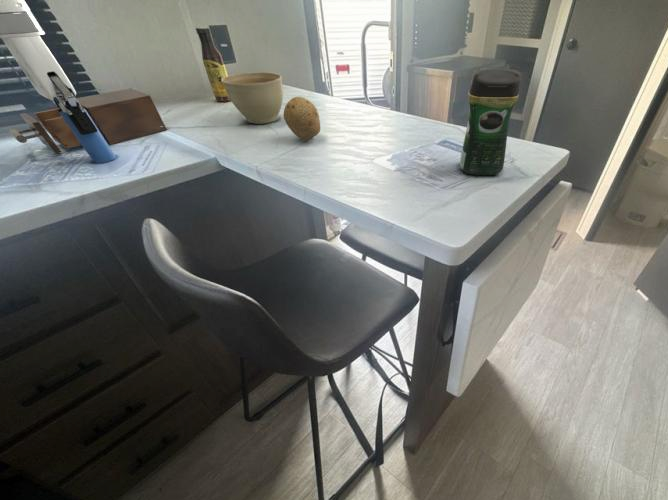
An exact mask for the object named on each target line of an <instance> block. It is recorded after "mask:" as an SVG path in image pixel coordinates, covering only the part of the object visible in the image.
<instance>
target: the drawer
mask: <svg viewBox="0 0 668 500" xmlns="http://www.w3.org/2000/svg"><path fill="white" fill-rule="evenodd" d="M59 109H61V108H59ZM85 110H86V109H85ZM86 111H87V113H88V114H89V116H90V117H91V119H92V121H93V122H94V124H95V125H96V127H97V128H98V130H99V131H100V133H101V134H102V136H103V138H104V139H106V138H105V136H104V134H103V133H102V131H101V130H100V128H99V127H98V125H97V123H96V122H95V120H94V119H93V117H92V116H91V114H90V113H89V111H88V110H86ZM33 114H34V115H35V116H36V118H37V119H38V120H39V121H38V120H37V119H35V118H34V117H32V116H31V115H30V114H28V113H26V112H23V113H19V115H20V117H21V118H22V119H23V120H24V122H25V123H26V124H27V126H28V127H29V128H24V129H20V130H16V129H14V128H11V129H9V130H8V133H9V135H11V137H12V138H14V139H15V140H16V141H18V142H19V143H21V144H26V143H27V141H28V140H30V139H35V138H38V140H39V141H40V142H41V143H42V144H43V145H44V146H45V147H47V148H48V149H49V150H50V151H52V152H53V153H54V154H55V155H56V154H61V153H62V150H61V149H60V148H59V146H58V145H57V144H56V143H58V144H59V145H60V146H62V147H64V149H71V148H75V147H78V146H82V145H81V143H80V142H79V140H78V139H77V138H76V136H75V135H74V133H73V132H72V130H71V129H70V128H69V126H68V125H67V123H66V122H65V121H64V119H63V118H62V116H61V115H60V113H59V111H58V108H57V107H56V108H52V109H47V110H42V111H38V112H33ZM31 132H33V133H32V134H28V135H23V134H27V133H31Z"/></svg>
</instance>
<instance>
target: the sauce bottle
mask: <svg viewBox="0 0 668 500" xmlns="http://www.w3.org/2000/svg"><path fill="white" fill-rule="evenodd" d="M195 31H196V34H197V35H198V38H199V40H200V45H201V46H200V47H201V55H202V63H203V66H204V69H205V73H206V75H207V78H208V81H209V84H210V87H211V89H212V92H213V95H214V97H215V100H216V101H218V102H221V103H223V102H225V103H226V102H227V103H228V102H232V101H231V100H230V98H229V96H228V94H227V92H226V89H225V87H224V85H223V83H222V81H221V80H222V78H224V77H227V76H229V75H228V71H227V68H226V65H225V63H224V59H223V56H222V54H221V52H220V50H218V48H217V47H216V45H215V42H214V39H213V37H212V31H211V28H210V27H209V26H195Z"/></svg>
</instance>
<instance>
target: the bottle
mask: <svg viewBox="0 0 668 500" xmlns="http://www.w3.org/2000/svg"><path fill="white" fill-rule="evenodd" d="M64 103H65V102H64ZM58 105H59V106H60V108H61V109H62V110H63V111H61V112H59V113H60V115H61V116H62V118H63V119H64V121H65V122H66V123H67V125H68V126H69V128H70V129H71V130H72V132H73V133H74V135H75V136H76V138H77V139H78V140H79V142H80V143H81V145H80V146H82V148H83V149H84V150H85V151H86V153H87V155H88V156H89V158H90V159H91V161H92V162H93V163H95V164H103V163H108V162H112V161H113V160H115V159H116V158H117V156H116V155H115V153H114V151H113V149H111V147H110V144H109V143H107V142H106V141H105V139H104V138H103V136H102V134H101V133H100V131H99V130H98V128H97V127H96V125H95V124H94V122H93V121H92V119H91V117H90V116H89V114H88V113H87V111H86V110H85V109H84V108H83V109H84V111H85V112H86V113H87V115H88V116H89V118H90V119H91V121H92V122H93V124H94V126H95V127H96V129H97V132H94V133H90V134H86V135H81V134H80V133H79V131H78V130H77V128H76V127H75V126H74V124H73V123H72V121H71V120H70V118H69V117H68V115H69V114H68V113H67V111H66V110H65V109H64V107H63V106H62V105H61V103H59V104H58ZM67 107H68V106H67Z"/></svg>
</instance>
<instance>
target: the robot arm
mask: <svg viewBox="0 0 668 500" xmlns="http://www.w3.org/2000/svg"><path fill="white" fill-rule="evenodd" d="M43 35H46V32H45V31H44V29H43V27H42V26H41V24H40V23H39V21H38V19H37V18H36V16H35V15H34V12H32V10H31V8H30V7H29V5H28V3H27V2H26V0H0V39H1V40H2V42H3V43H4V44H5V46H6V48H7V49H8V52H9V53H10V54H11V55H12V57H13V59H14V60H15V61H16V63H17V64H18V66H19V67H20V69H21V70H22V71H23V73H24V74H25V77H26V78H27V79H28V81H29V82H30V83H31V85H32V87H33V88H34V90H35V91H36V92H37V93H38V94H39V95H40V96H42V97H44V98H46V99H48V100H49V101H52V102H53V105H55V107H56V109H57V108H58V111H59V112H61V111H63V110H62V109H59V108H60V106H59V105H58V104H59V103H61V105H62V106H63V107H64V109H65V110H66V111H67V113H68V114H69V115H68V117H69V118H70V120H71V121H72V123H73V124H74V126H75V127H76V128H77V130H78V131H79V133H80V134H81V135H86V134H90V133H94V132H97V129H96V127H95V126H94V124H93V122H92V121H91V119H90V118H89V116H88V115H87V113H86V112H85V111H84V109H83V108H82V107H81V105H80V104H79V102H78V101H77V100H76V98H77V97H76V96H77V91H76V89H75V87H74V85H73V84H72V82H71V81H70V80H69V79H70V78H68V76H67V74H66V73H65V71H64V70H63V68H62V67H61V65H60V63H59V62H58V60H57V59H56V57H55V56H54V55H53V53H52V51H50V48H49V47H48V46H47V45H46V43H45V41H44V39H42V37H41V36H43ZM64 102H65V103H64ZM67 106H68V107H67Z"/></svg>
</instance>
